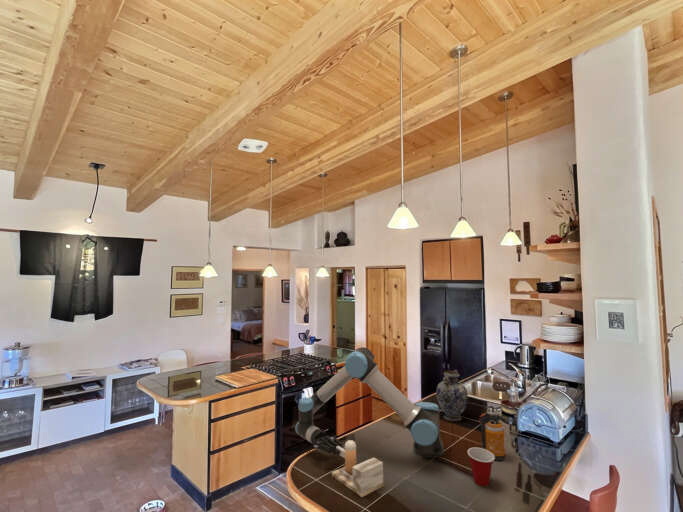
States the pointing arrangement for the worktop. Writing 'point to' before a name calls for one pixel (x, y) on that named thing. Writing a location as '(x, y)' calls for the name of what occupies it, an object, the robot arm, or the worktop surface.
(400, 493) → the worktop surface
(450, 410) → the decorative vase
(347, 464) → the plunger knob
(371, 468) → the knob mount
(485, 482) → the plastic cup
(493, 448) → the canister
